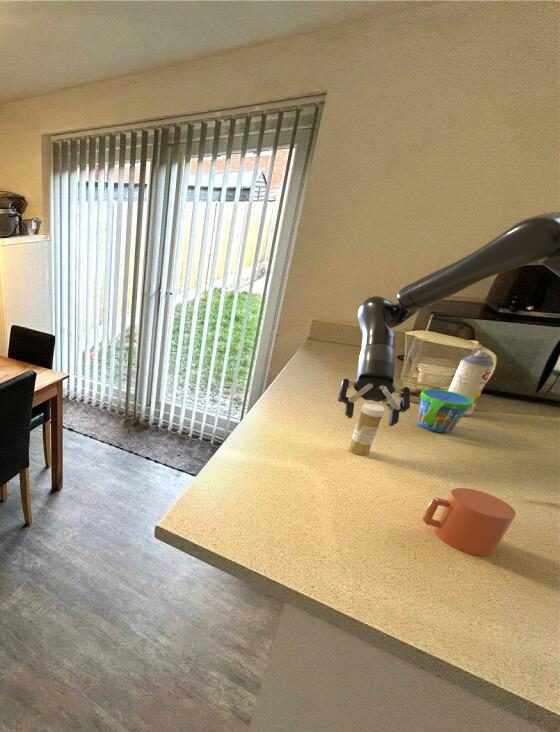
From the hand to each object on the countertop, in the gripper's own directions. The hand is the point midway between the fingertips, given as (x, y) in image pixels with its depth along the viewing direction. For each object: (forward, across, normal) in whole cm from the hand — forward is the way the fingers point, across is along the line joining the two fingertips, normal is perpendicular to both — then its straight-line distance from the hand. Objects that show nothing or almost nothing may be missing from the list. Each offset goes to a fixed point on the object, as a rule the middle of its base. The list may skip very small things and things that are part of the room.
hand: (370, 421), depth 99 cm
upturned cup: (+26, +12, -12) cm, 31 cm away
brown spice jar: (+6, 0, +8) cm, 10 cm away
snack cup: (-12, +21, +26) cm, 35 cm away
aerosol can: (-23, +30, +37) cm, 53 cm away
